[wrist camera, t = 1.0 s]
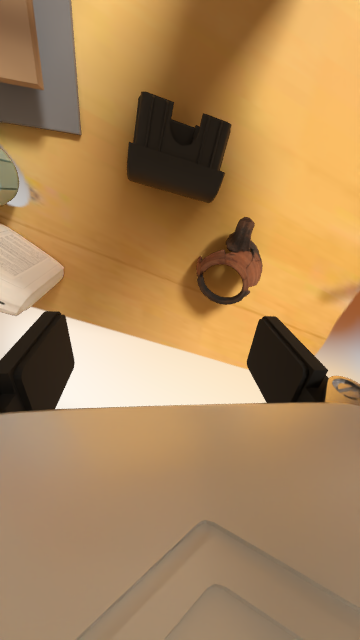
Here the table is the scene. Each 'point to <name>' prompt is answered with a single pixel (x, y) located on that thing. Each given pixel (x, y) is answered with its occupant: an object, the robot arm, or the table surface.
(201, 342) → the table surface
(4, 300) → the photo printer
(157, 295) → the table surface
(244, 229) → the brown piece
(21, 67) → the walnut board
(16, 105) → the rubber mat
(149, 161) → the end cap
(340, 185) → the table surface
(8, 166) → the ceramic bowl
